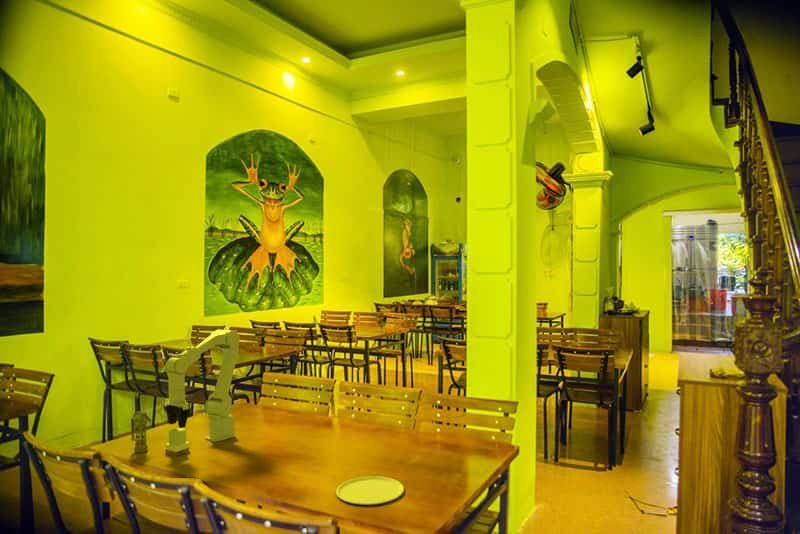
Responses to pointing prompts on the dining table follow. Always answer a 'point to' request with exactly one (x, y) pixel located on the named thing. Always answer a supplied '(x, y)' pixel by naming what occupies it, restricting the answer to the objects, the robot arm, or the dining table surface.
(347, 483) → the plate
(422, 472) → the dining table surface
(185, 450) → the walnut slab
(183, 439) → the sage block
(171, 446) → the cream slab
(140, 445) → the grenade
